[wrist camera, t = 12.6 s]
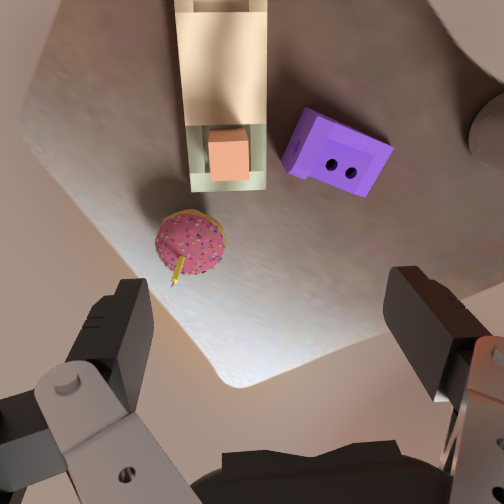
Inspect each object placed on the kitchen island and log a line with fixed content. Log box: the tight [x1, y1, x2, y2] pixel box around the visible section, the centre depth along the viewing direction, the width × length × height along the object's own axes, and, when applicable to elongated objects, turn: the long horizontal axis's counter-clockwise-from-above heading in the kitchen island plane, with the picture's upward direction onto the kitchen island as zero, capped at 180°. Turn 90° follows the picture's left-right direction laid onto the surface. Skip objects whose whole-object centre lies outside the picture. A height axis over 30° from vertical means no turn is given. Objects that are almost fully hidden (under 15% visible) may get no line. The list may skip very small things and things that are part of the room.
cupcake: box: [155, 209, 225, 287], centre depth 45 cm, size 9×8×12 cm
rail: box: [174, 0, 267, 192], centre depth 41 cm, size 9×26×2 cm, turn 1°
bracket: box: [281, 107, 394, 197], centre depth 44 cm, size 12×7×7 cm, turn 67°
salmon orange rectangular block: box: [208, 128, 249, 182], centre depth 42 cm, size 4×4×7 cm
